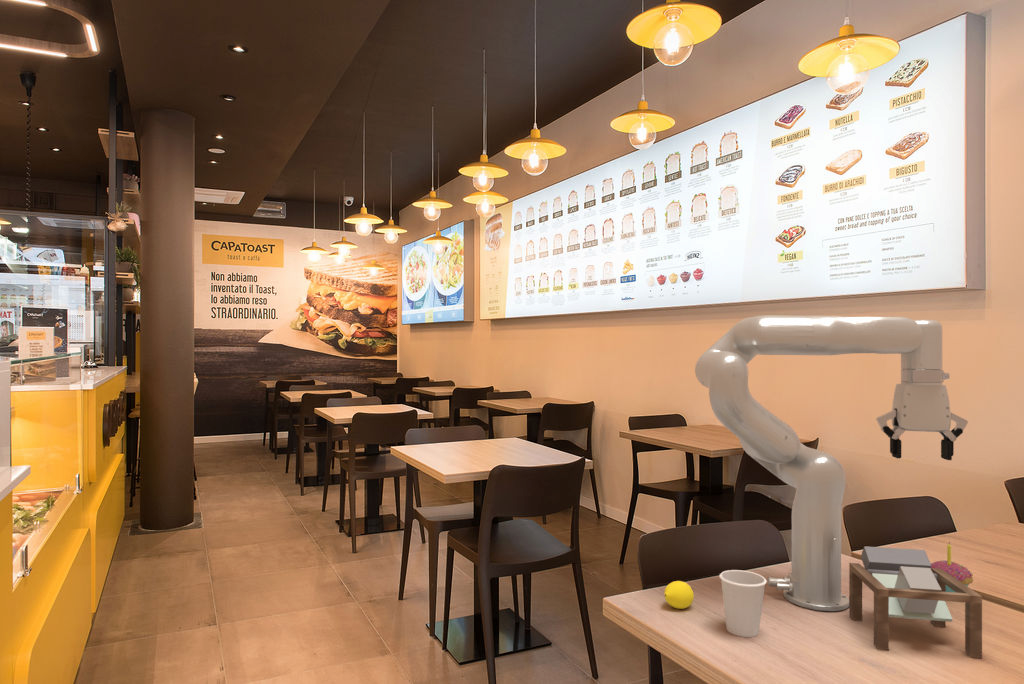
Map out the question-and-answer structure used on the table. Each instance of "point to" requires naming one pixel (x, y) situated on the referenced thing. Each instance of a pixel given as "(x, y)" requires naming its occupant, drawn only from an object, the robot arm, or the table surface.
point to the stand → (882, 598)
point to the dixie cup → (742, 601)
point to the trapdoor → (886, 571)
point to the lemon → (679, 594)
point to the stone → (917, 588)
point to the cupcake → (954, 570)
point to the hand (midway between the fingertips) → (921, 458)
